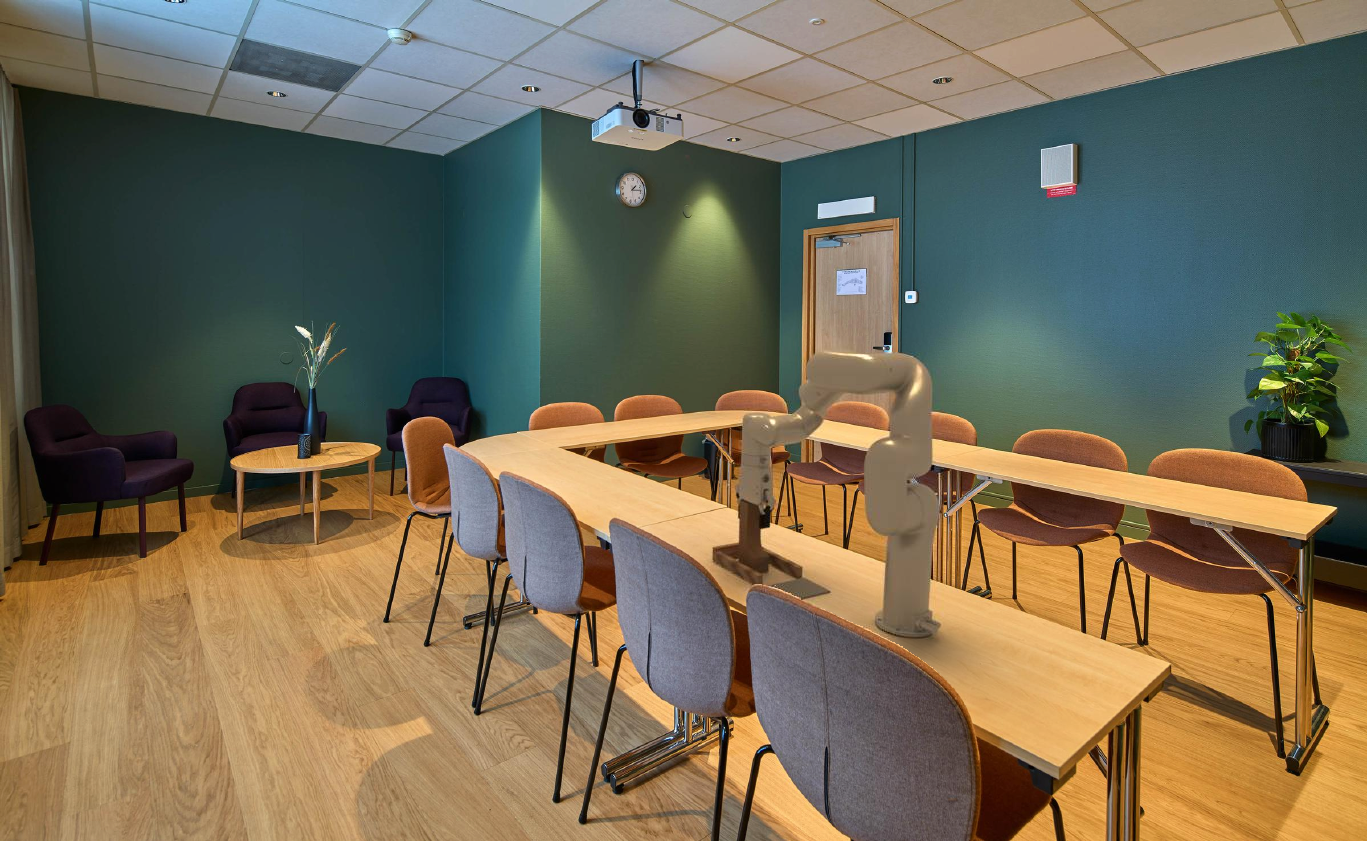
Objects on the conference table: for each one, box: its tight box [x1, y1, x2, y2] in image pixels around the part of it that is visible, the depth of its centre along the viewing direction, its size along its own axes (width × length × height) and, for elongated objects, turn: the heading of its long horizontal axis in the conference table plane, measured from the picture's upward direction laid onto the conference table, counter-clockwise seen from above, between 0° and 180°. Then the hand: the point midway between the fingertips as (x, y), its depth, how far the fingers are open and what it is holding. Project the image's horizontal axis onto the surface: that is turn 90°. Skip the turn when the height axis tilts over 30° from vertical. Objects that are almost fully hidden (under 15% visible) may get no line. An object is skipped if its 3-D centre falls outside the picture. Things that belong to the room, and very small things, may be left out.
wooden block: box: [737, 499, 770, 574], centre depth 188 cm, size 9×4×18 cm, turn 24°
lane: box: [711, 541, 803, 586], centre depth 188 cm, size 22×14×4 cm, turn 29°
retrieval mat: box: [767, 577, 831, 600], centre depth 173 cm, size 10×14×1 cm
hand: (753, 523), depth 187 cm, fingers open, 9 cm apart
